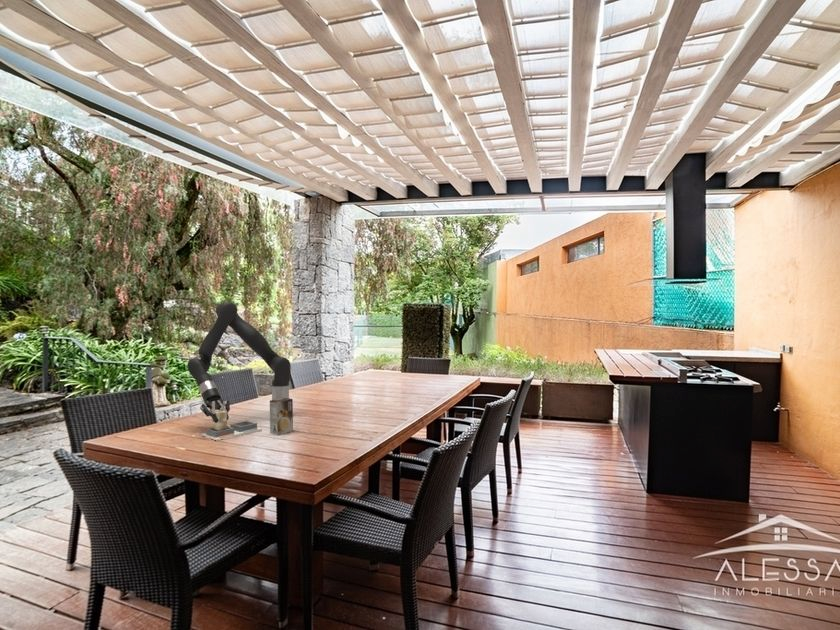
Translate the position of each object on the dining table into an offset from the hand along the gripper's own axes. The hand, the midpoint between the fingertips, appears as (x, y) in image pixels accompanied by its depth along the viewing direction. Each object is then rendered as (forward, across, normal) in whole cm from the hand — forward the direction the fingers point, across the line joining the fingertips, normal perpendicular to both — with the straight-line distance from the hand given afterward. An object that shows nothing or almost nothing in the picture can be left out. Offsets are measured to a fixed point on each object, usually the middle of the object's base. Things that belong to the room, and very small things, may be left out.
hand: (222, 420), depth 212 cm
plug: (+2, 0, +4) cm, 5 cm away
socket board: (+4, +6, +7) cm, 10 cm away
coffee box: (+16, +22, -5) cm, 28 cm away
